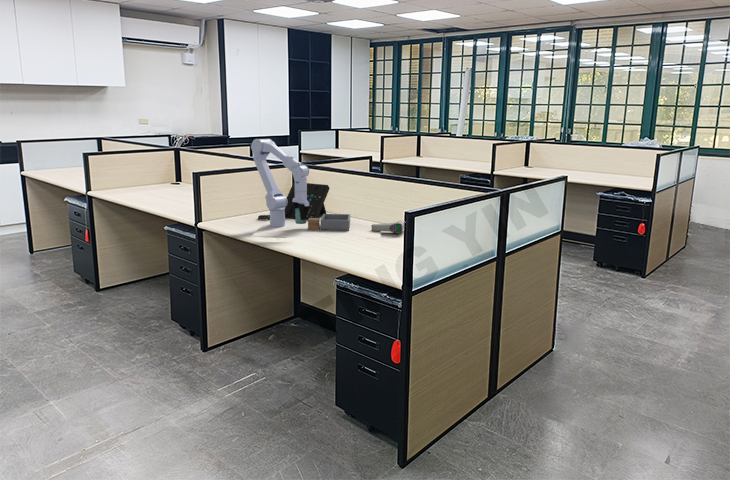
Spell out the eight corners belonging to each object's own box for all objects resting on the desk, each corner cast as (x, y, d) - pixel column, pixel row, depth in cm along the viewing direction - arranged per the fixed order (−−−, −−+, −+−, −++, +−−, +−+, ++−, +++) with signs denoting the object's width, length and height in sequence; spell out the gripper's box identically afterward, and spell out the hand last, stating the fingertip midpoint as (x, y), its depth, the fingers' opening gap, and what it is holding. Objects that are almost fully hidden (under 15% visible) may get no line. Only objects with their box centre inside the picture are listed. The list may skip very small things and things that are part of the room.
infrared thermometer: (370, 223, 260) (401, 223, 256) (376, 219, 271) (406, 219, 267) (371, 233, 261) (402, 233, 257) (377, 228, 272) (407, 228, 268)
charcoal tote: (323, 223, 278) (323, 213, 277) (350, 224, 278) (350, 214, 277) (320, 230, 261) (320, 219, 260) (349, 230, 261) (349, 220, 260)
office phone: (254, 219, 288) (253, 181, 284) (286, 212, 313) (285, 176, 308) (301, 225, 275) (300, 185, 271) (330, 216, 299) (330, 180, 295)
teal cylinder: (296, 222, 266) (296, 207, 264) (306, 222, 266) (306, 208, 264) (294, 223, 261) (294, 209, 260) (305, 224, 261) (305, 209, 260)
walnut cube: (309, 228, 266) (309, 218, 265) (319, 228, 266) (319, 218, 265) (308, 230, 262) (307, 219, 260) (318, 230, 261) (318, 219, 260)
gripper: (286, 189, 264) (287, 217, 267) (299, 193, 252) (299, 222, 255) (300, 188, 268) (300, 216, 271) (313, 192, 256) (313, 221, 259)
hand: (300, 219), depth 263 cm, fingers closed on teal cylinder, 5 cm apart
